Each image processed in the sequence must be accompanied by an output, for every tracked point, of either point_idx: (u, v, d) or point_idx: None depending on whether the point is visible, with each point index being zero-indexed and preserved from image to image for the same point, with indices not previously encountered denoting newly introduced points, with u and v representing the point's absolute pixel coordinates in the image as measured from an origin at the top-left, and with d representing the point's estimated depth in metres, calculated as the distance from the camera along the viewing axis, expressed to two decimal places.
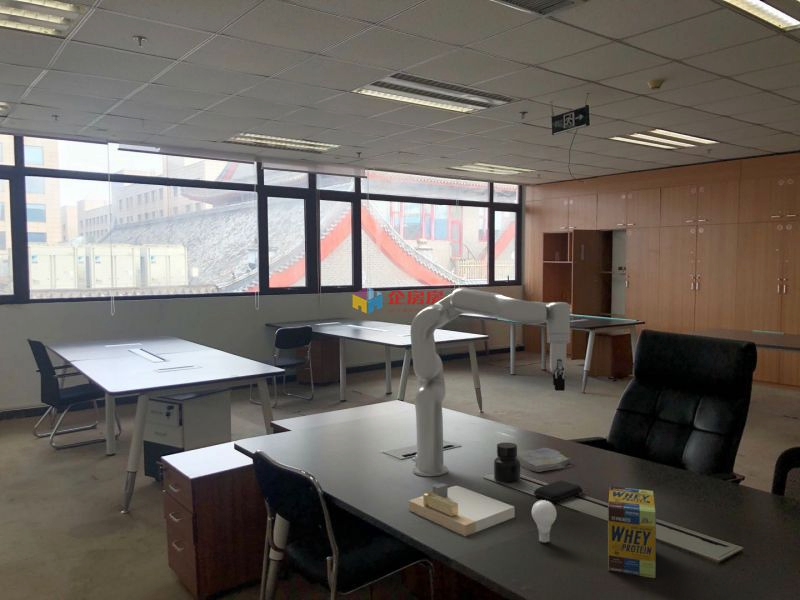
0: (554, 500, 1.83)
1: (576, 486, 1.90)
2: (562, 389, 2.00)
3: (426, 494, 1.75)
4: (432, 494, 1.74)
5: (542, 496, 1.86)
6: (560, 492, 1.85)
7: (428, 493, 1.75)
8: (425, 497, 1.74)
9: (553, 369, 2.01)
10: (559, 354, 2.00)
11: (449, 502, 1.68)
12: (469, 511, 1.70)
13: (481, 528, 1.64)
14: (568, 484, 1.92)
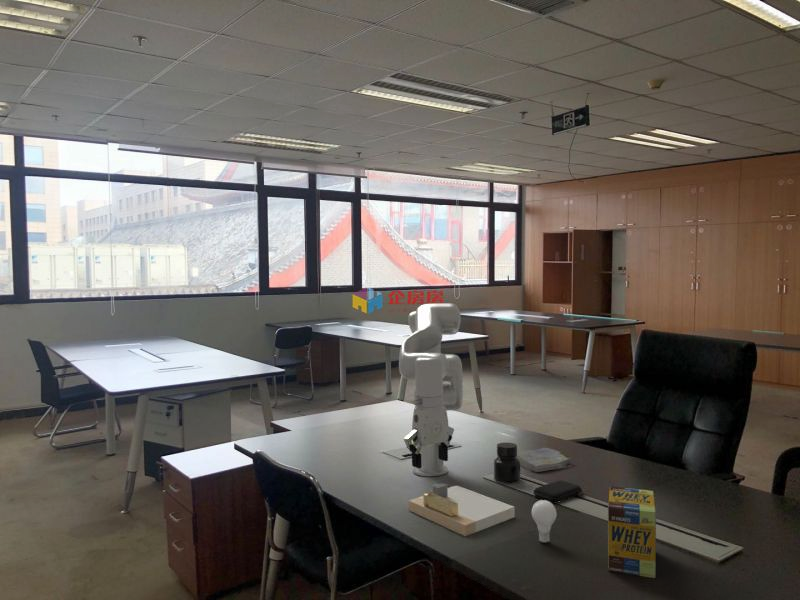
0: (553, 500, 1.83)
1: (575, 486, 1.90)
2: None
3: (426, 494, 1.75)
4: (432, 494, 1.74)
5: (541, 496, 1.86)
6: (559, 492, 1.85)
7: (428, 493, 1.75)
8: (425, 497, 1.74)
9: None
10: None
11: (449, 502, 1.68)
12: (469, 511, 1.70)
13: (481, 528, 1.64)
14: (568, 484, 1.92)
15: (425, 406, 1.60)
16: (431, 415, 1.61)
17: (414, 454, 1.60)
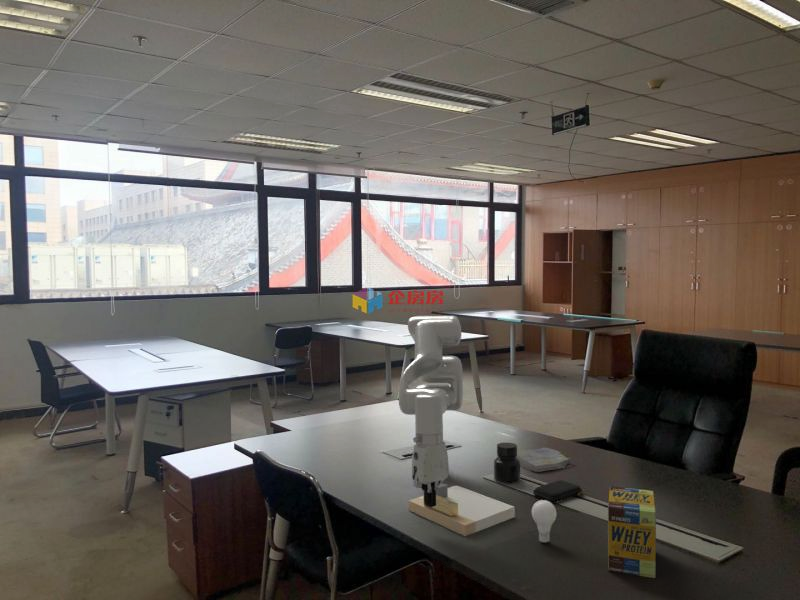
0: (552, 500, 1.83)
1: (575, 486, 1.90)
2: None
3: None
4: None
5: (541, 495, 1.86)
6: (559, 492, 1.86)
7: None
8: None
9: None
10: None
11: (449, 502, 1.68)
12: (469, 511, 1.70)
13: (481, 528, 1.64)
14: (567, 484, 1.92)
15: (425, 444, 1.60)
16: (431, 452, 1.61)
17: (426, 493, 1.63)
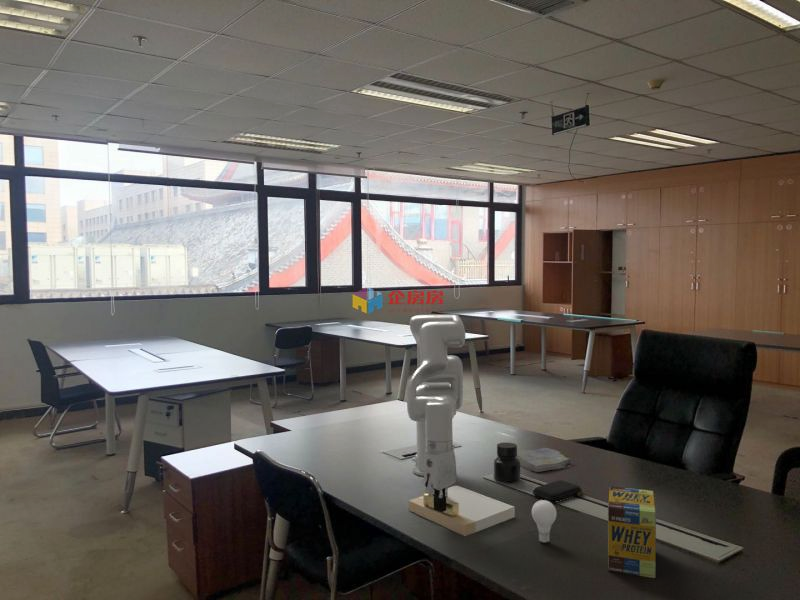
0: (552, 499, 1.83)
1: (575, 486, 1.90)
2: None
3: (426, 494, 1.74)
4: None
5: (540, 495, 1.86)
6: (558, 492, 1.86)
7: None
8: (425, 497, 1.74)
9: None
10: None
11: (450, 502, 1.68)
12: (469, 511, 1.70)
13: (481, 528, 1.64)
14: (567, 484, 1.92)
15: (438, 450, 1.63)
16: (443, 459, 1.64)
17: (437, 499, 1.66)
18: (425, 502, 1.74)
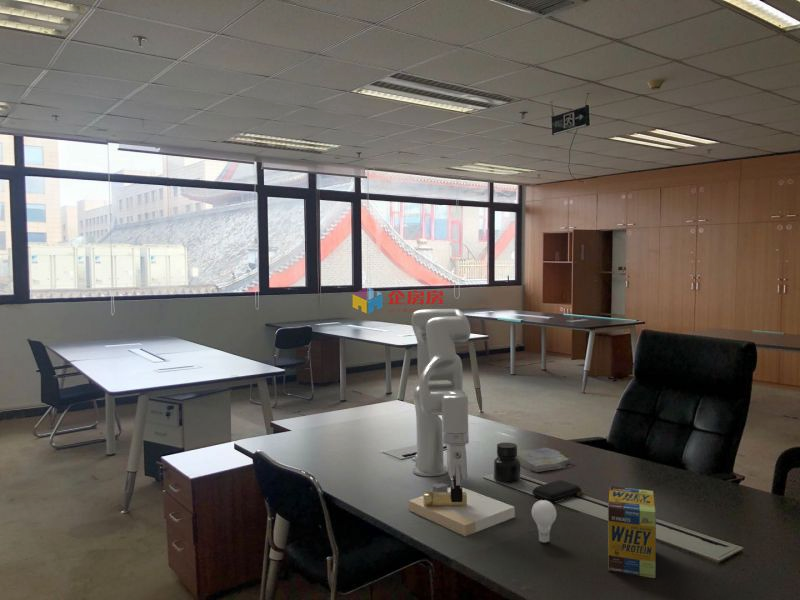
0: (551, 499, 1.83)
1: (575, 486, 1.90)
2: None
3: (428, 494, 1.74)
4: (432, 493, 1.75)
5: (540, 495, 1.87)
6: (558, 491, 1.86)
7: (427, 493, 1.75)
8: (430, 497, 1.73)
9: None
10: None
11: None
12: (469, 511, 1.70)
13: (481, 528, 1.64)
14: (567, 484, 1.92)
15: (463, 441, 1.69)
16: None
17: (458, 489, 1.71)
18: (429, 502, 1.73)
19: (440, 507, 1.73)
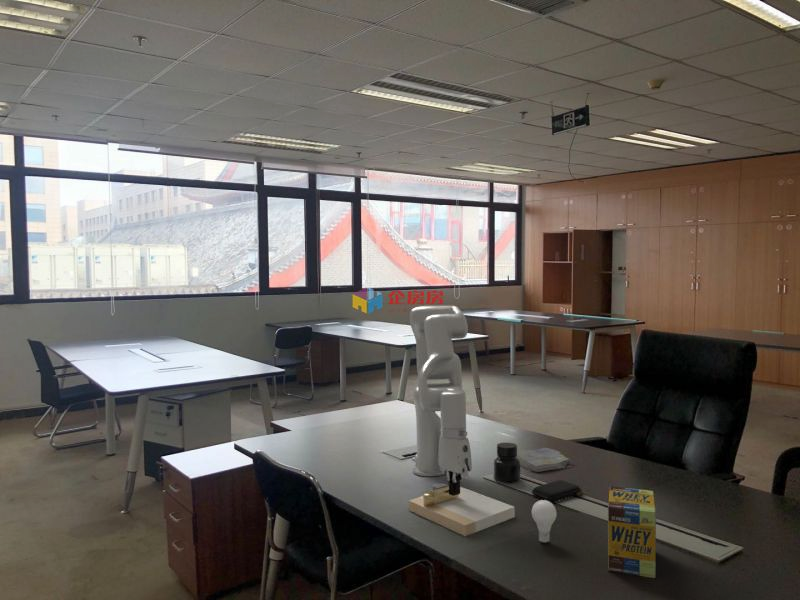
0: (551, 499, 1.83)
1: (574, 486, 1.90)
2: None
3: (430, 494, 1.74)
4: (430, 492, 1.76)
5: (539, 495, 1.87)
6: (557, 491, 1.86)
7: (427, 493, 1.75)
8: (433, 497, 1.74)
9: None
10: None
11: None
12: (469, 511, 1.70)
13: (481, 528, 1.64)
14: (567, 484, 1.92)
15: None
16: None
17: (458, 482, 1.77)
18: (432, 502, 1.74)
19: (440, 507, 1.73)
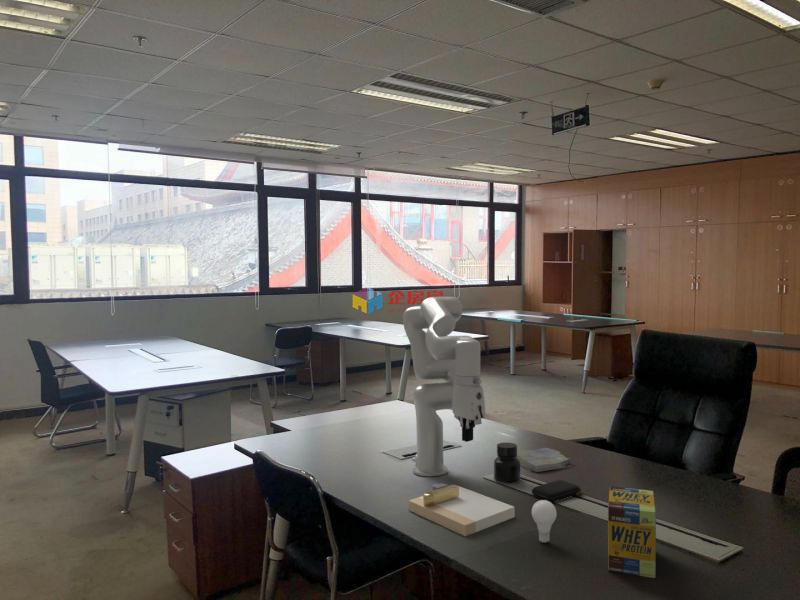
0: (550, 499, 1.84)
1: (574, 486, 1.90)
2: None
3: (430, 494, 1.74)
4: (430, 492, 1.76)
5: (539, 495, 1.87)
6: (557, 491, 1.86)
7: (427, 494, 1.75)
8: (433, 497, 1.74)
9: None
10: None
11: (451, 487, 1.80)
12: (469, 511, 1.70)
13: (481, 528, 1.64)
14: (566, 484, 1.92)
15: (479, 383, 1.78)
16: None
17: (471, 429, 1.80)
18: (432, 502, 1.74)
19: (440, 507, 1.73)
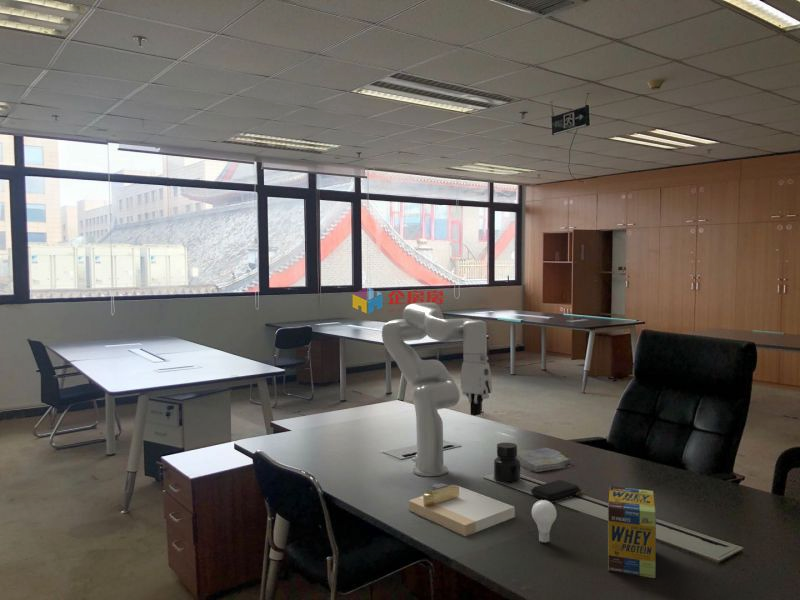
0: (549, 499, 1.84)
1: (574, 486, 1.91)
2: None
3: (430, 494, 1.74)
4: (430, 492, 1.76)
5: (538, 495, 1.87)
6: (556, 491, 1.86)
7: (427, 494, 1.75)
8: (433, 497, 1.74)
9: None
10: None
11: (451, 487, 1.80)
12: (469, 511, 1.70)
13: (481, 528, 1.64)
14: (566, 484, 1.92)
15: (486, 360, 1.92)
16: None
17: (479, 403, 1.93)
18: (432, 502, 1.74)
19: (440, 507, 1.73)
